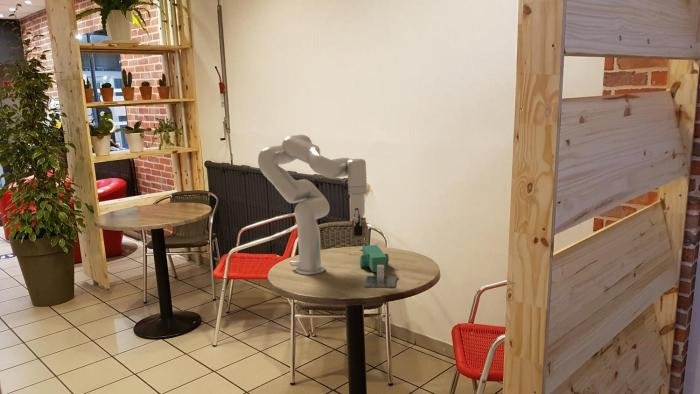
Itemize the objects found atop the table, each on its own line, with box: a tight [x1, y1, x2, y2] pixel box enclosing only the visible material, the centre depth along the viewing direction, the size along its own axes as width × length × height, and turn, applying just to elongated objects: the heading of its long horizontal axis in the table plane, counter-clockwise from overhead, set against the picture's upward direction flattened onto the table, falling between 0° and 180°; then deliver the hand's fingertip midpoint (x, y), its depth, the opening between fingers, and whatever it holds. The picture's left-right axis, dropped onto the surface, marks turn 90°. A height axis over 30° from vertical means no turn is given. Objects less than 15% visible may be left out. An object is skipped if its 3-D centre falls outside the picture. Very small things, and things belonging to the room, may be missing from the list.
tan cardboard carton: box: [351, 217, 367, 238], centre depth 213 cm, size 5×5×7 cm
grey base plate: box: [364, 265, 397, 289], centre depth 212 cm, size 12×12×7 cm
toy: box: [359, 240, 390, 272], centre depth 234 cm, size 12×10×30 cm
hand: (359, 233), depth 213 cm, fingers closed on tan cardboard carton, 5 cm apart
